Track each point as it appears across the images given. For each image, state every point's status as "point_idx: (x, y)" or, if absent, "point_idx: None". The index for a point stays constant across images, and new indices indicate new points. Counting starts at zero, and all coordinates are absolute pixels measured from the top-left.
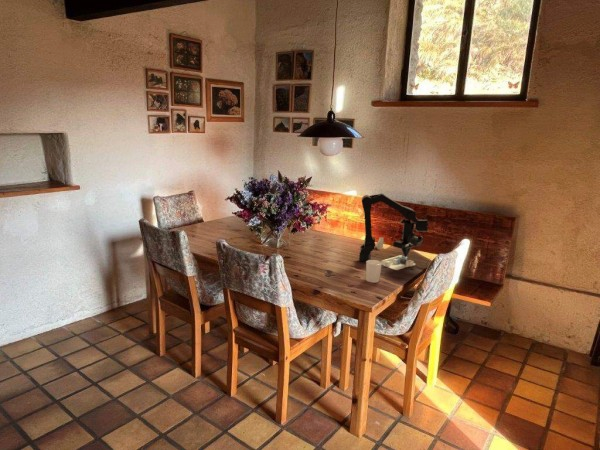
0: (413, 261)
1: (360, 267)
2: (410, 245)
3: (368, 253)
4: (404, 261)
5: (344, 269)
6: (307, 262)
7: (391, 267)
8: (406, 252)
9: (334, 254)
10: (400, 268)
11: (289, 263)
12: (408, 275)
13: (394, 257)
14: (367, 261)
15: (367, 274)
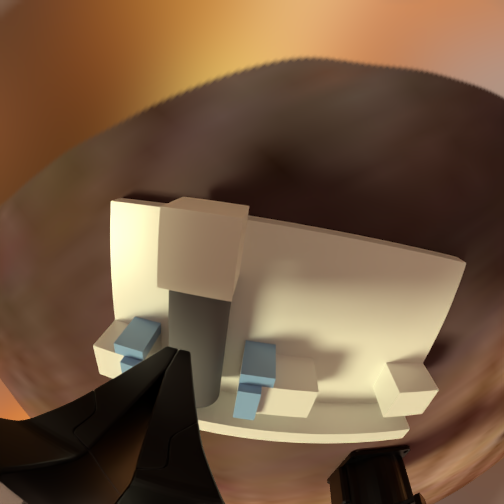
0: (163, 206)
1: (452, 428)
2: (12, 491)
3: (422, 500)
4: (225, 318)
5: (489, 429)
6: (447, 488)
7: (423, 334)
8: (194, 416)
9: None
10: (405, 259)
11: (464, 485)
12: (468, 122)
13: (227, 428)
14: None
15: None
